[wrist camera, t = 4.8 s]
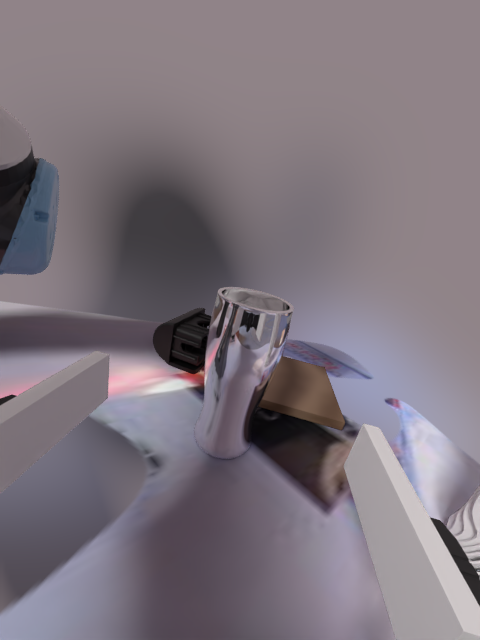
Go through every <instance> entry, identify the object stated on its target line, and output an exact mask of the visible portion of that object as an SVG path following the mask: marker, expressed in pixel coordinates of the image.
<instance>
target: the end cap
mask: <svg viewBox="0 0 480 640" xmlns="http://www.w3.org/2000/svg"><path fill="white" fill-rule="evenodd" d="M211 317H212V316H209V315H206V314H205V309H204V308H197V309H194V310H192V311H189V312H187V313H185V314H183V315H181V316H179V317H176V318H174V319H172V320H170V321H168V322H166V323H163V324H161V325H160V326H159V327H157V329H156V330H155V332H154V336H153V344H154V347H155V350H156V352H157V353H158V355H159V356H160V357H161V358H162V359H163V360H165V362H166V363H167V364H169V365H171V366H173V367H176V368H178V369H181V370H183V371H186V372H189V373H192V374H195V373H197V372H198V371H199V370H200V369H201V368H202V367H203V366H204V360H205V346H206V340H207V334H208V329H207V326H209V325H210V320H211Z"/></svg>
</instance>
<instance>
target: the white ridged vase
mask: <svg viewBox="0 0 480 640" xmlns="http://www.w3.org/2000/svg"><path fill="white" fill-rule="evenodd" d="M447 529H448V530H449V531H450V532H451V533H452V534H453V536H454V537H455V538H456V539H457V541H458V542H459V544H460V546H461V547H462V549H463V550H464V552H465V554H466V555H467V557H468V559H469V563H471V564H472V565H473V567H474V568H475V570H478V569H480V485H479V487H478V488H477V489H476V491H475V492H474V493H473V495H472V496H471V497H470V499H469V500H468V501H467V502H466V503H465V504H464V505H463V506H462V508H461V509H459V510H458V511H456V512H455V513H454V514H453V515H451V516H450V517H449V518H448V523H447ZM477 573H478V575H480V571H479V572H477ZM479 579H480V576H479Z"/></svg>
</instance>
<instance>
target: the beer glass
mask: <svg viewBox="0 0 480 640" xmlns="http://www.w3.org/2000/svg"><path fill="white" fill-rule="evenodd" d="M293 310H294V308H293V306H292V305H291V304H290V303H288V302H287V301H285V300H283V299H281V298H279V297H276V296H273V295H270V294H267V293H264V292H260V291H256V290H251V289H246V288H237V287H225V288H221V289H219V290H218V295H217V299H216V303H215V306H214V309H213V313H212V317H211V320H210V325H209V329H208V334H207V340H206V346H205V360H204V402H203V407H202V410H201V413H200V415H199V417H198V420H197V422H196V424H195V427H194V437H195V440H196V442H197V444H198V446H199V447H200V448H201V449H202V450H203V451H204V452H206V453H207V454H209V455H211V456H213V457H217V458H221V459H231V458H236V457H238V456H240V455H242V454H243V453H245V452H246V451H247V449H248V448H249V446H250V444H251V440H252V428H253V420H254V416H255V413H256V410H257V408H258V406H259V404H260V402H261V400H262V398H263V397H264V395H265V393H266V391H267V389H268V387H269V385H270V383H271V382H272V380H273V377H274V375H275V373H276V371H277V369H278V366H279V363H280V361H281V358H282V355H283V352H284V348H285V344H286V340H287V336H288V331H289V327H290V321H291V317H292V313H293Z"/></svg>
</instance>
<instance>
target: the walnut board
mask: <svg viewBox="0 0 480 640" xmlns="http://www.w3.org/2000/svg"><path fill="white" fill-rule="evenodd" d="M258 407H262V408H265V409H269V410H272V411H276V412H279V413H283V414H286V415H290V416H293V417H297V418H300V419H304V420H307V421H311V422H314V423H318V424H321V425H325V426H328V427H332V428H335V429H339V430H342V428H343V426H344V424H345V421H344V418H343V416H342V413H341V410H340V408H339V405H338V402H337V400H336V397H335V394H334V391H333V389H332V386H331V383H330V381H329V378H328V375H327V372H326V370H325V367H321V366H317V365H313V364H310V363H306V362H302V361H298V360H295V359H291V358H287V357H283V356H282V358H281V361H280V363H279V366H278V369H277V371H276V373H275V375H274V377H273V380H272V382H271V383H270V385H269V387H268V389H267V391H266V393H265V395H264V397H263V398H262V400H261V402H260V404H259V406H258Z"/></svg>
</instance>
